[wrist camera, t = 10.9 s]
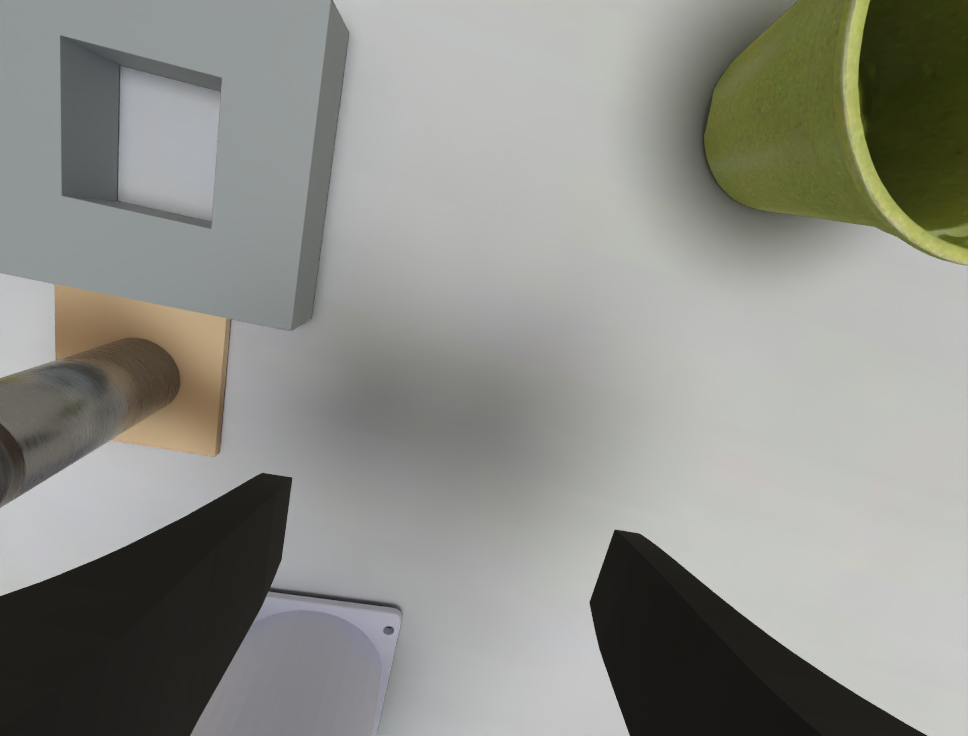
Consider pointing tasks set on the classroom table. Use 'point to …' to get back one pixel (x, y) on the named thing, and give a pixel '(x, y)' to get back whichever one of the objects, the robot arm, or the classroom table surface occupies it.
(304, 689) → the robot arm
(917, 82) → the plant pot
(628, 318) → the classroom table surface
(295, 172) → the block
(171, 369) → the shiny metal cylinder
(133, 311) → the pad
